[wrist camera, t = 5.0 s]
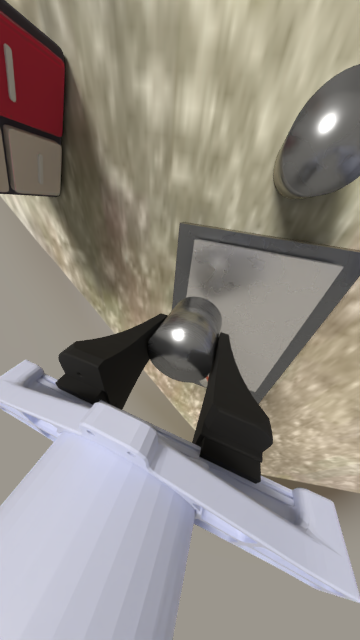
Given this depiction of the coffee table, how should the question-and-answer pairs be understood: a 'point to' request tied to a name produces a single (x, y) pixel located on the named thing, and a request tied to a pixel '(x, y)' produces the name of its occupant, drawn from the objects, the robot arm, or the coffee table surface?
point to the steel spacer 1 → (187, 340)
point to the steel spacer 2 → (323, 141)
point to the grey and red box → (29, 107)
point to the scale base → (350, 259)
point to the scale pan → (258, 299)
